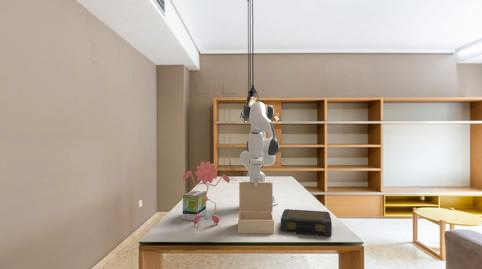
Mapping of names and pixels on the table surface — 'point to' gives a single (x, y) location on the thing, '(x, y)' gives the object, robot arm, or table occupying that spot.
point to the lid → (255, 197)
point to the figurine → (206, 175)
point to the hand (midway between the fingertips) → (255, 186)
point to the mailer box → (255, 222)
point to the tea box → (193, 205)
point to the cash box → (306, 222)
